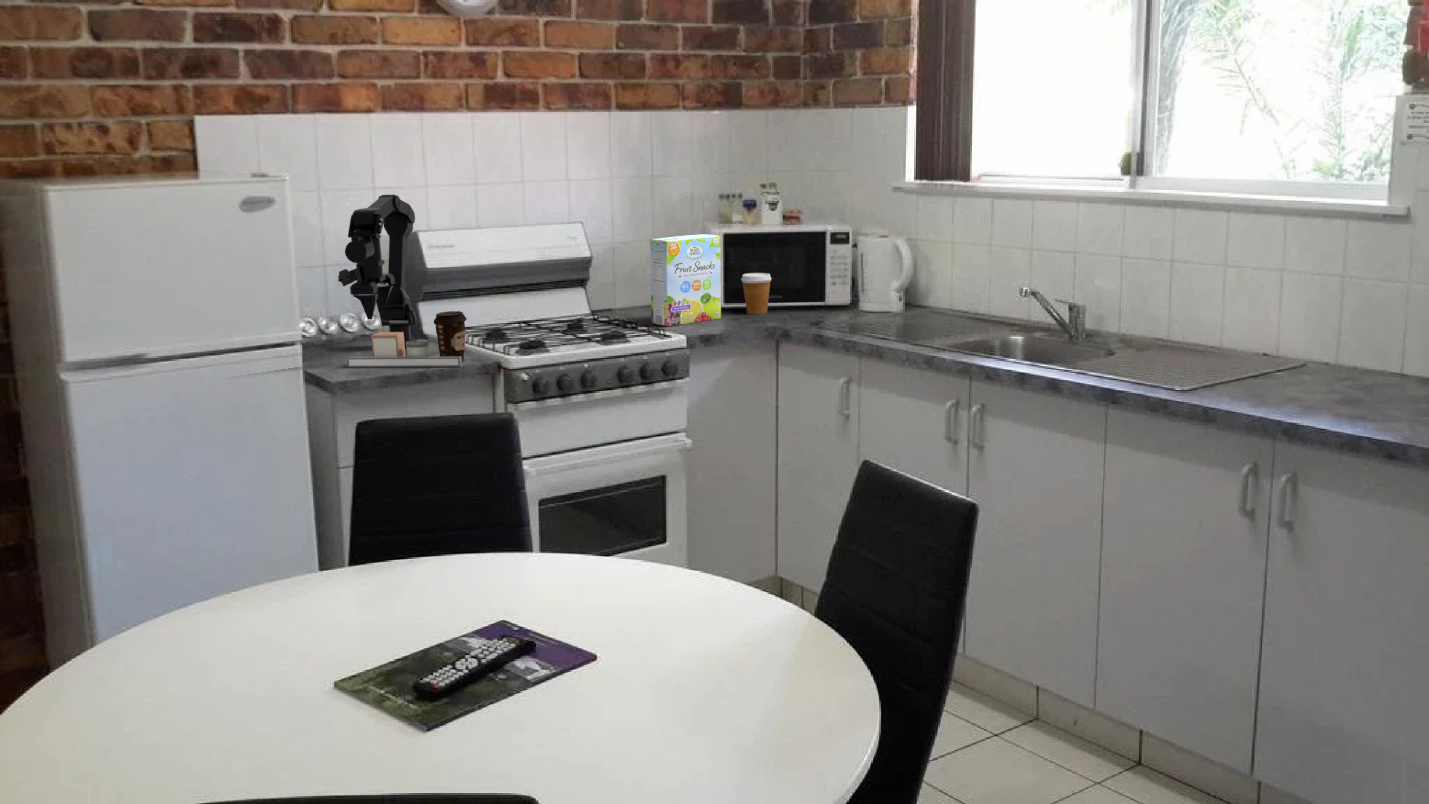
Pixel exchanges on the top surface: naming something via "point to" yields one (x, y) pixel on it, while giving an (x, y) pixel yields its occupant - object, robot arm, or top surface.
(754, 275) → the disposable coffee cup
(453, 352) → the coffee cup
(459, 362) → the rail
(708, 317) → the snack box
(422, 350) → the spice jar
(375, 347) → the tea box
